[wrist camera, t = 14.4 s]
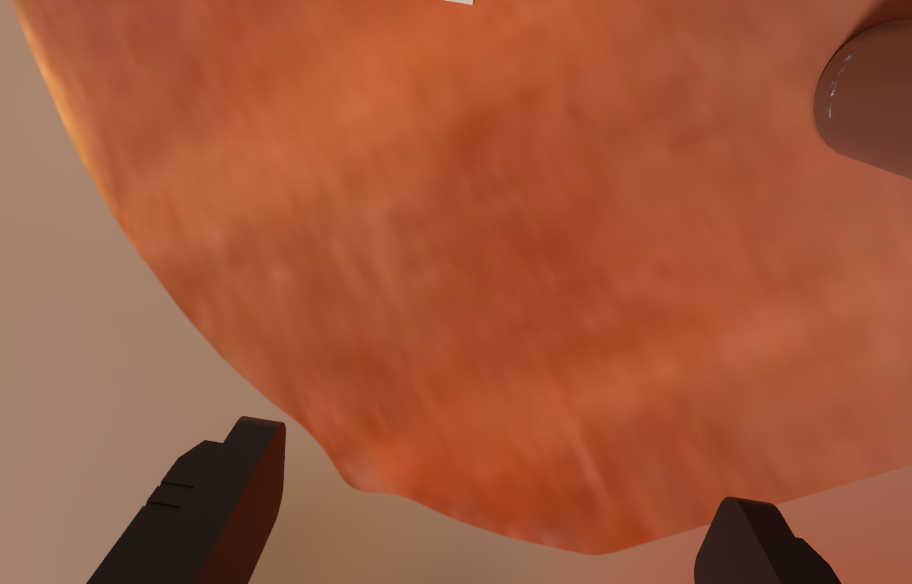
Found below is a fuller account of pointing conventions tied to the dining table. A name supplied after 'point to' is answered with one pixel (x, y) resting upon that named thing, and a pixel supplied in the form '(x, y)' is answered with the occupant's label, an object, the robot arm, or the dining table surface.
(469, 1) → the tile mat
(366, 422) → the dining table surface
